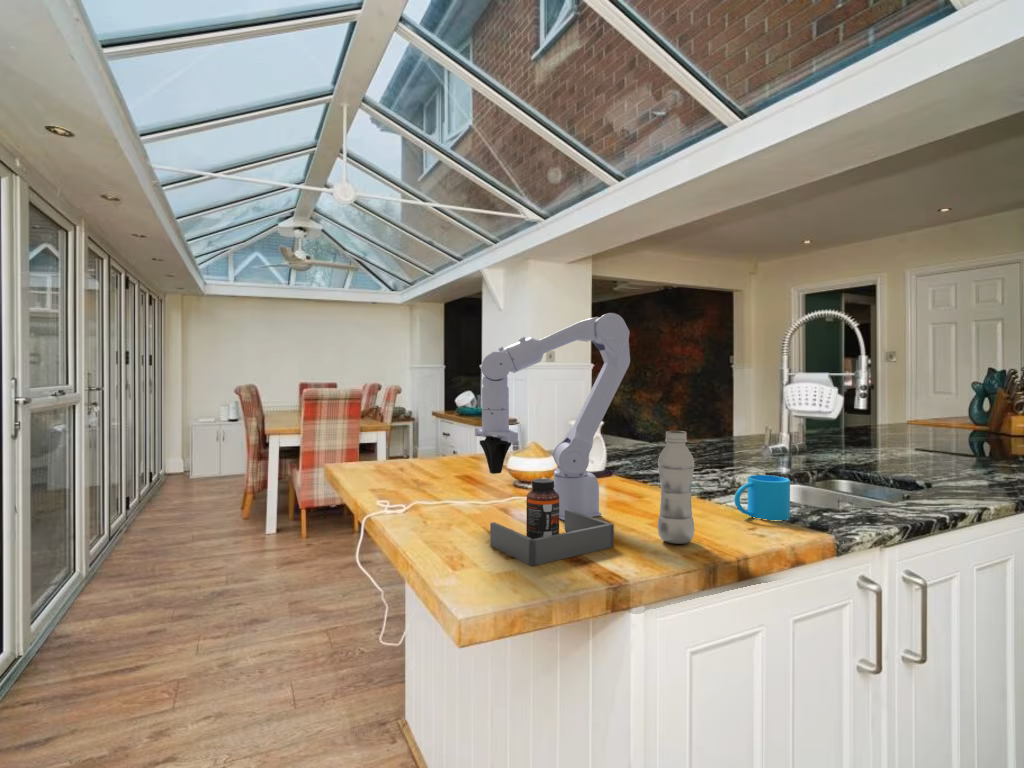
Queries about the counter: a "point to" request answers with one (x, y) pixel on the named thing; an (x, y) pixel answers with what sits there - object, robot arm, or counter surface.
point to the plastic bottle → (676, 490)
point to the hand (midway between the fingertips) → (495, 473)
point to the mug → (766, 497)
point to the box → (555, 540)
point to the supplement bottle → (542, 509)
